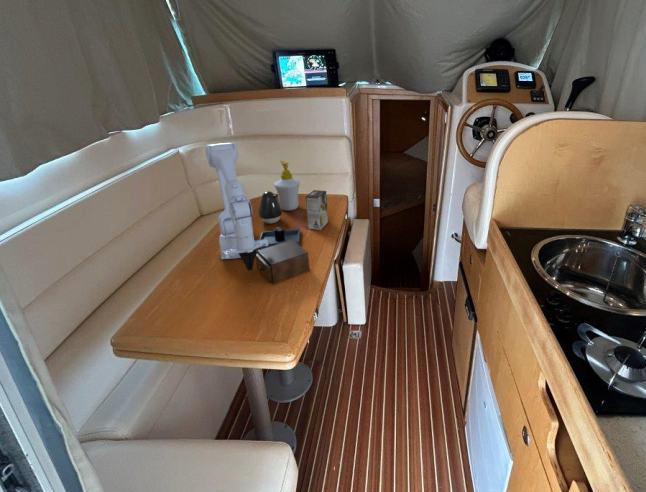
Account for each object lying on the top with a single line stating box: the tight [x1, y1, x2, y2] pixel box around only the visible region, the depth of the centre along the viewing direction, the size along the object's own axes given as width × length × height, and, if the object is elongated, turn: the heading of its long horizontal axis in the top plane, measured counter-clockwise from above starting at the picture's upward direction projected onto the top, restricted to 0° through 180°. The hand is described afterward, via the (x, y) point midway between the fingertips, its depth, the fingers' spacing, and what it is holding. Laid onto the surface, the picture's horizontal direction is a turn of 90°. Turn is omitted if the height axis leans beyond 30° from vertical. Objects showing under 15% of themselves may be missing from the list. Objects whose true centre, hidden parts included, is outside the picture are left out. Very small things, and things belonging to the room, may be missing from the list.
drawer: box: [255, 253, 273, 283], centre depth 130 cm, size 14×11×6 cm
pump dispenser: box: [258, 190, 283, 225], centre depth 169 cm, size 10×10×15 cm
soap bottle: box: [273, 160, 301, 212], centre depth 183 cm, size 13×13×25 cm
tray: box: [257, 228, 301, 250], centre depth 153 cm, size 16×12×2 cm
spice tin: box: [273, 226, 285, 242], centre depth 153 cm, size 4×4×5 cm
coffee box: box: [305, 189, 329, 231], centre depth 166 cm, size 9×6×16 cm
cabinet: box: [256, 240, 310, 285], centre depth 131 cm, size 14×13×8 cm
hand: (249, 269), depth 127 cm, fingers closed
